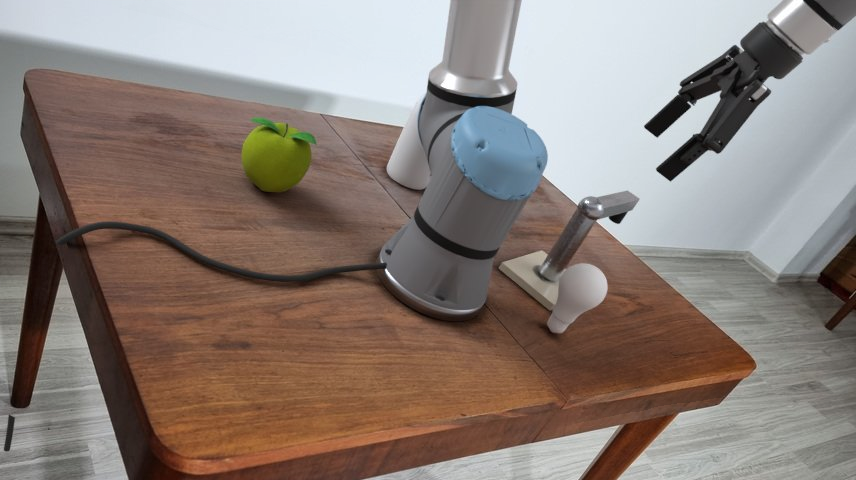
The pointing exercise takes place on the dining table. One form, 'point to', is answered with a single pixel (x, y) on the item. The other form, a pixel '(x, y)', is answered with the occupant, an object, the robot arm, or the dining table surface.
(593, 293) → the lightbulb
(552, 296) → the faucet stand
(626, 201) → the spout
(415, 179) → the milk bottle
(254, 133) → the fruit
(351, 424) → the dining table surface
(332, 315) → the dining table surface
